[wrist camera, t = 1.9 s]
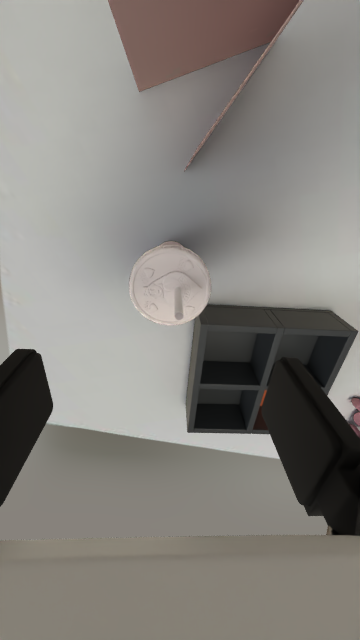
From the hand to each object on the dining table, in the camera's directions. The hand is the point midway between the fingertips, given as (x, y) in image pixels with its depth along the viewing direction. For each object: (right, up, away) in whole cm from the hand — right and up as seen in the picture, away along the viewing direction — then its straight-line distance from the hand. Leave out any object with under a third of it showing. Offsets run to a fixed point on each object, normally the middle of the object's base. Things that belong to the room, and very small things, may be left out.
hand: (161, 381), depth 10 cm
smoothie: (0, +10, +17) cm, 20 cm away
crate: (+11, -3, +24) cm, 27 cm away
